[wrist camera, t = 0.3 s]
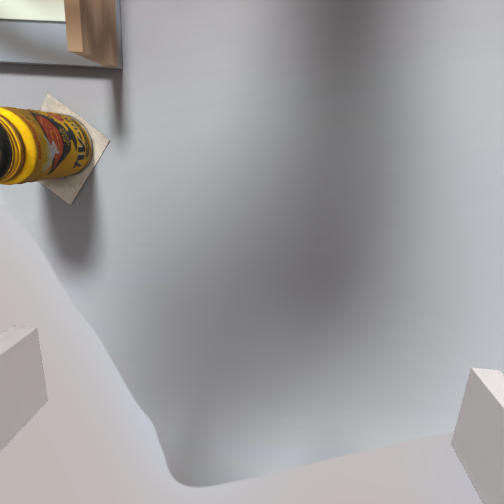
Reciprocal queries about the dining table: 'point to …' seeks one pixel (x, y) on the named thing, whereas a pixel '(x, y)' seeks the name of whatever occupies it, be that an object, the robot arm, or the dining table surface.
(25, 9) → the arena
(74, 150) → the condiment
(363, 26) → the dining table surface
